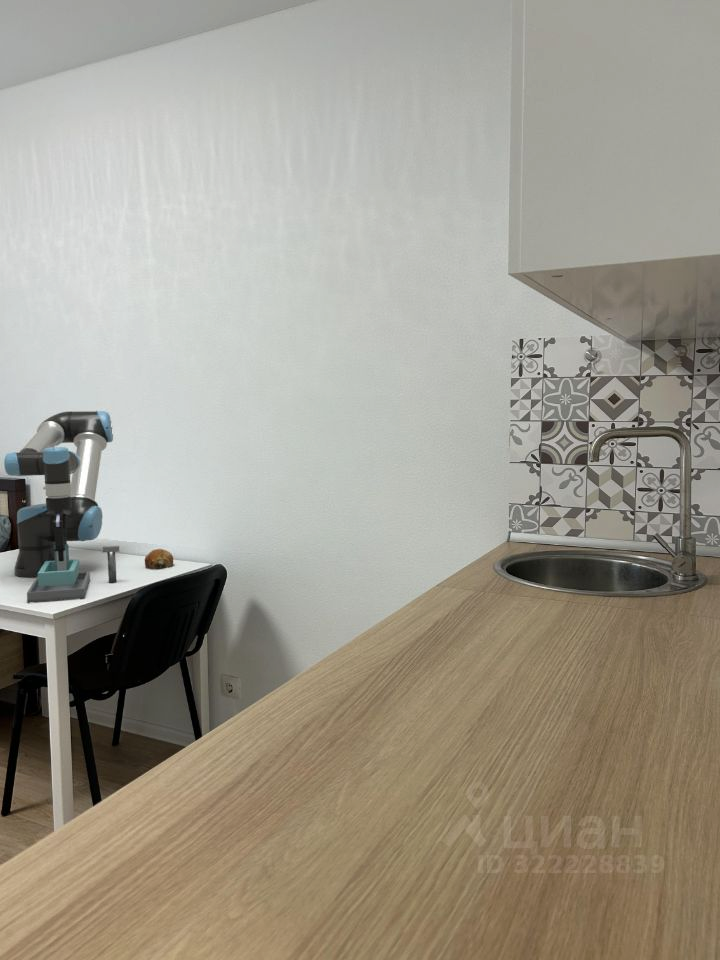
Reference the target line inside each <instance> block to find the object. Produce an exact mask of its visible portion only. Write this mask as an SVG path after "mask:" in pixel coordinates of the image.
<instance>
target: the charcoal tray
mask: <svg viewBox="0 0 720 960" xmlns="http://www.w3.org/2000/svg"><path fill="white" fill-rule="evenodd" d="M90 575H91V572H90V571H80V572H79V574H78V577H77V579H76V582H75V584H71V585H57V586H43V587H38V576H37V577H35V579H34V581H33V583H32V584H31V586H30V587H29V589H28V590H27V592H26V602H34V603H43V602H44V603H45V602H47V603H48V602H56V601H57V602H58V601H59V602H60V601H71V600H84V599H85V598H86V594H87V592H88V588H89V586H90V582H91V576H90Z"/></svg>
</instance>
